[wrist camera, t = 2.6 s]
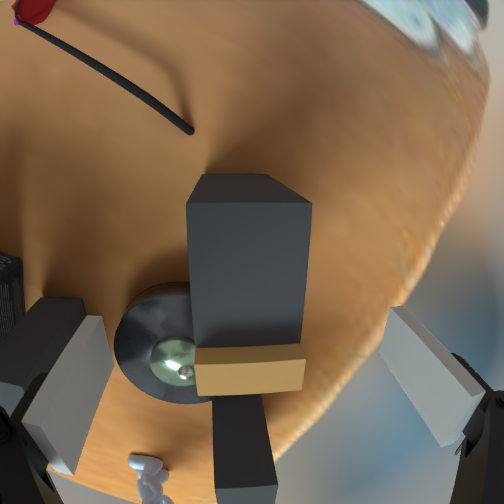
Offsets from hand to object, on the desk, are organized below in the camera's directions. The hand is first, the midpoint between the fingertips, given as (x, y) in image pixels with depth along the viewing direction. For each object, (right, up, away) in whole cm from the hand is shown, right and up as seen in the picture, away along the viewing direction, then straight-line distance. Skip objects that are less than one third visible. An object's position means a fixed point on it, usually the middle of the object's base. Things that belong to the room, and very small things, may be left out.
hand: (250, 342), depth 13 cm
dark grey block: (-1, -11, +13) cm, 17 cm away
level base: (-5, -3, +10) cm, 11 cm away
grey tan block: (-15, -3, +9) cm, 17 cm away
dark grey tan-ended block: (-1, +5, +7) cm, 9 cm away
